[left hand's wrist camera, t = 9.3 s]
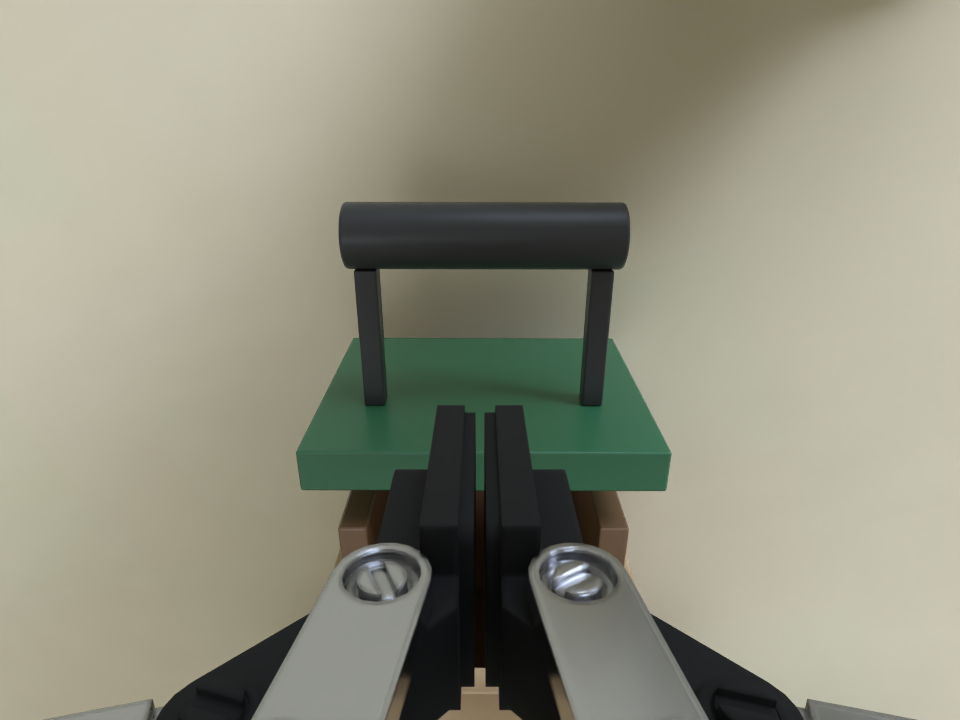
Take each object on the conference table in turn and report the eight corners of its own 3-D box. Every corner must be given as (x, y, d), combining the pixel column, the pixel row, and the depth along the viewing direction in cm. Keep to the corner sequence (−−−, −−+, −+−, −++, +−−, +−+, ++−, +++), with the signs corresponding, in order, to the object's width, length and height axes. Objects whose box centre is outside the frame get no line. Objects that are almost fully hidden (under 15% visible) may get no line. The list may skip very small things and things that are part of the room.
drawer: (339, 176, 21) (264, 223, 14) (627, 176, 21) (706, 225, 14) (374, 584, 28) (336, 758, 21) (589, 584, 28) (627, 759, 21)
